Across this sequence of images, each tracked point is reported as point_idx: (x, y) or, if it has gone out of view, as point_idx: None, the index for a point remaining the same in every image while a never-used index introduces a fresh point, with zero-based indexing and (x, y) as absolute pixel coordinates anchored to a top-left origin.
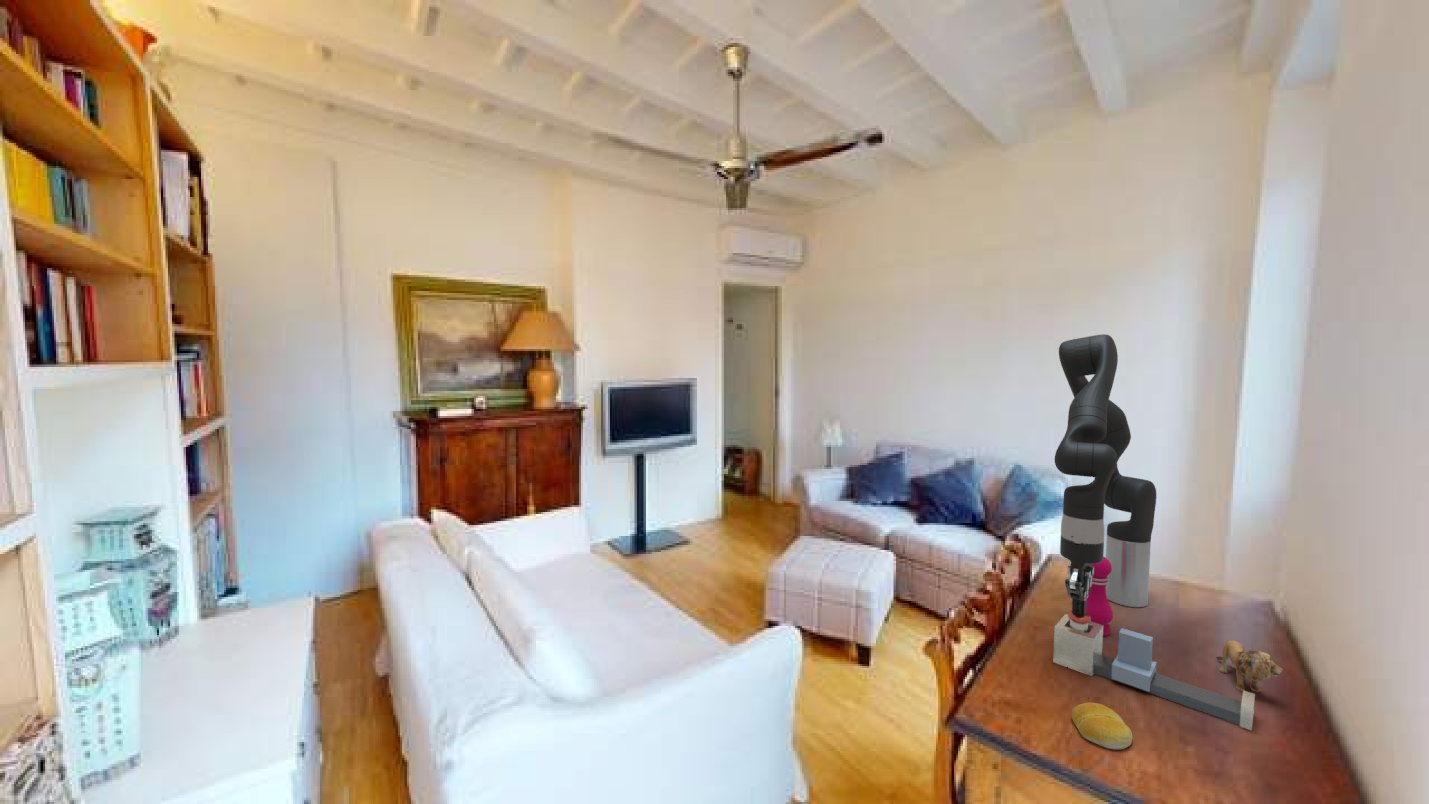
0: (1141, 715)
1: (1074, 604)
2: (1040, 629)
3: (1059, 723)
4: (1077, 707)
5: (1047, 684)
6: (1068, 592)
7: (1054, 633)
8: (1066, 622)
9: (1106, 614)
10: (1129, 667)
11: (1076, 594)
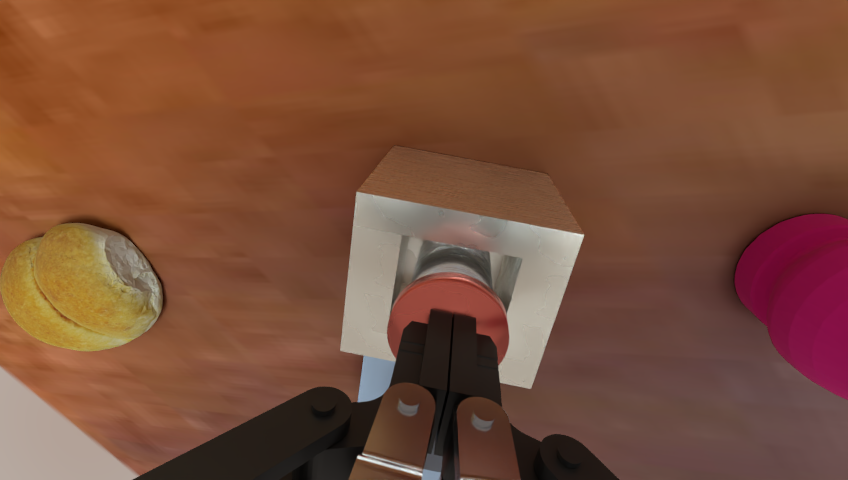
0: (253, 360)
1: (396, 367)
2: (704, 61)
3: (40, 190)
4: (57, 247)
5: (220, 140)
6: (229, 435)
7: (366, 181)
8: (460, 244)
9: (805, 372)
10: (380, 389)
11: (296, 468)
